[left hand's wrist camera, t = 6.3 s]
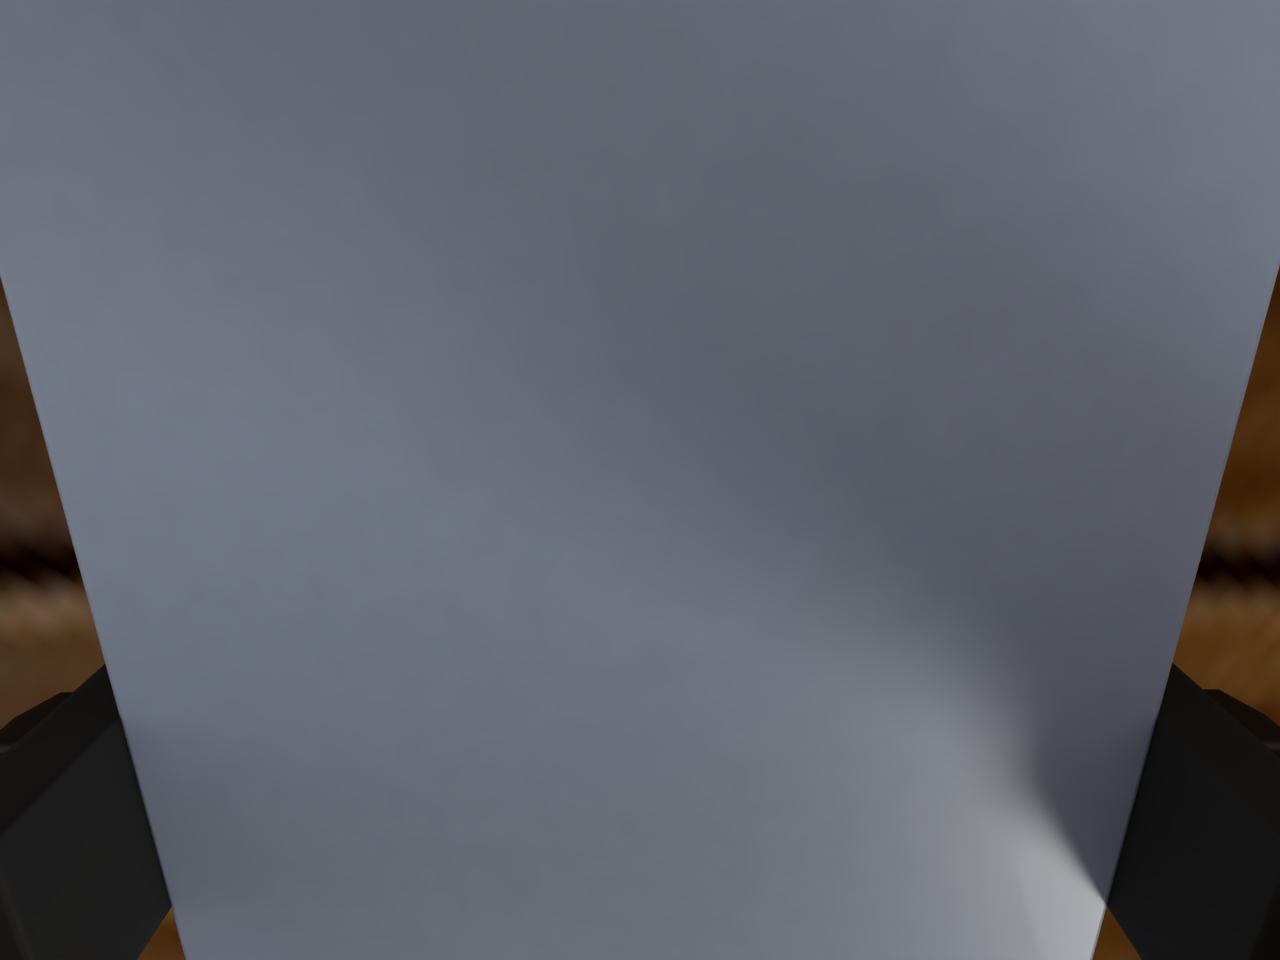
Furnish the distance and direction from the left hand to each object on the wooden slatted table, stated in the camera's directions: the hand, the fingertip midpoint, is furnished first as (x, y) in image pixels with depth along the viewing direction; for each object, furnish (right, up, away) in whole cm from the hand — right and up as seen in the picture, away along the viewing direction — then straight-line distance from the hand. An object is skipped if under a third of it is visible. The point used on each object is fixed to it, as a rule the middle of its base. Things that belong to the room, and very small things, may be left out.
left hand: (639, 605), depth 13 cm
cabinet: (0, +8, +1) cm, 8 cm away
